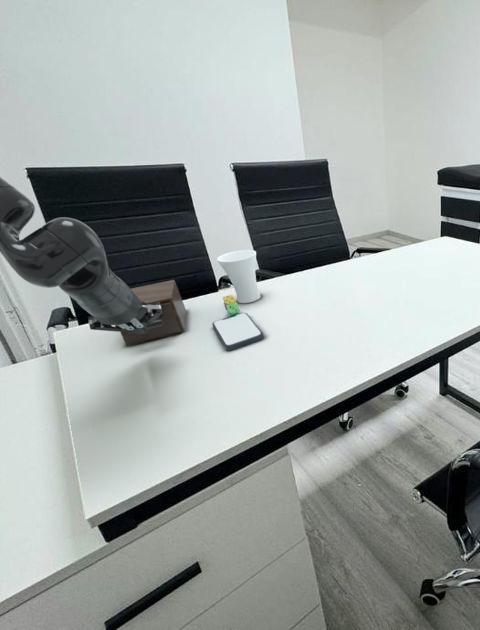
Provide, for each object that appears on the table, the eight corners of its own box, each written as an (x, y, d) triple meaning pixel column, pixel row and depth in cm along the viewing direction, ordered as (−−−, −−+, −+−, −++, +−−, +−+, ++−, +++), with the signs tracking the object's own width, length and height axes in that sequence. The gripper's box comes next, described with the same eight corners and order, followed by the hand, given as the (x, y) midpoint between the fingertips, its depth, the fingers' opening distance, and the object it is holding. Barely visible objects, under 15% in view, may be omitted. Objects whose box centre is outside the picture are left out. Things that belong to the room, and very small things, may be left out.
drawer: (180, 338, 94) (168, 309, 90) (124, 352, 89) (110, 322, 86) (182, 311, 108) (172, 285, 104) (135, 322, 103) (122, 296, 100)
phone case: (266, 339, 92) (247, 316, 104) (264, 333, 92) (246, 311, 103) (227, 353, 88) (212, 327, 100) (225, 347, 87) (210, 322, 99)
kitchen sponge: (226, 312, 107) (219, 291, 104) (236, 309, 109) (230, 288, 106) (232, 322, 101) (224, 300, 98) (242, 319, 102) (235, 298, 100)
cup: (270, 300, 113) (258, 256, 107) (232, 309, 109) (217, 264, 103) (264, 289, 121) (253, 247, 115) (228, 297, 117) (215, 254, 111)
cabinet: (184, 331, 99) (171, 297, 94) (126, 346, 94) (109, 310, 89) (186, 310, 110) (174, 279, 106) (134, 322, 106) (120, 290, 101)
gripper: (145, 272, 74) (171, 307, 89) (59, 288, 69) (103, 322, 84) (153, 306, 72) (179, 336, 87) (65, 326, 67) (109, 354, 82)
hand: (141, 329), depth 86 cm, fingers closed
